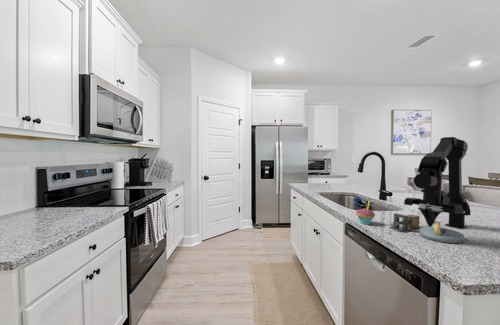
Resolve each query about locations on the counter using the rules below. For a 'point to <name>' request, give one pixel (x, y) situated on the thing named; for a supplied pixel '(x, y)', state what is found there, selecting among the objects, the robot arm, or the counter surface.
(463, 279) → the counter surface
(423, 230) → the handwheel
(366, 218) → the cupcake
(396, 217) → the eye bracket
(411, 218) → the grey brown long block
